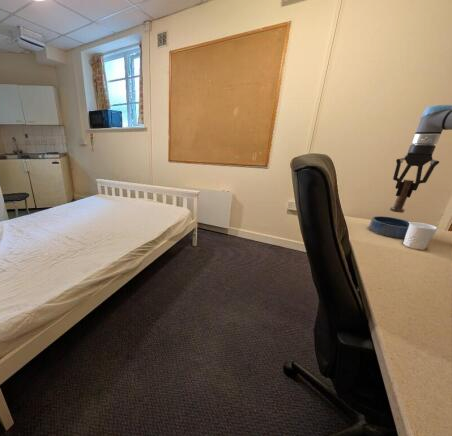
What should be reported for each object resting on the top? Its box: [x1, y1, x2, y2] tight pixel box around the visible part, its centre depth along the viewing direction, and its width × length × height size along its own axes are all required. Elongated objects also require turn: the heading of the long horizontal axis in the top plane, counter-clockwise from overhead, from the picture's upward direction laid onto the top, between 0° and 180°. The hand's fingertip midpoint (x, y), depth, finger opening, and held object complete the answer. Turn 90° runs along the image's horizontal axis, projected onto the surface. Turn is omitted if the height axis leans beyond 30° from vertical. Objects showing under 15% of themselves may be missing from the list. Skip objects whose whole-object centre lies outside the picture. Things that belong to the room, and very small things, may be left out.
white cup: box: [403, 221, 438, 251], centre depth 96 cm, size 8×8×10 cm
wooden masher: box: [389, 179, 415, 214], centre depth 105 cm, size 5×5×15 cm
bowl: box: [368, 215, 412, 239], centre depth 110 cm, size 15×16×6 cm
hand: (402, 196), depth 105 cm, fingers closed on wooden masher, 3 cm apart
